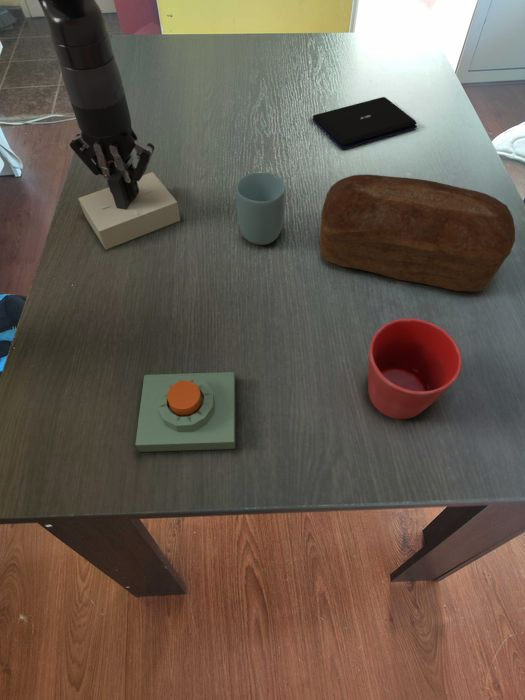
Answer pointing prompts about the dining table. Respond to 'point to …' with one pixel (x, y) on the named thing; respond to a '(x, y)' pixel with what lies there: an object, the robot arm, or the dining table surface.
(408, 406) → the flower pot
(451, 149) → the dining table surface
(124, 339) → the dining table surface
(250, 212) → the cup
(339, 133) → the laptop
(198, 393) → the power button
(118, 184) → the knob
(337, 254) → the bread
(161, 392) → the block
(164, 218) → the panel
